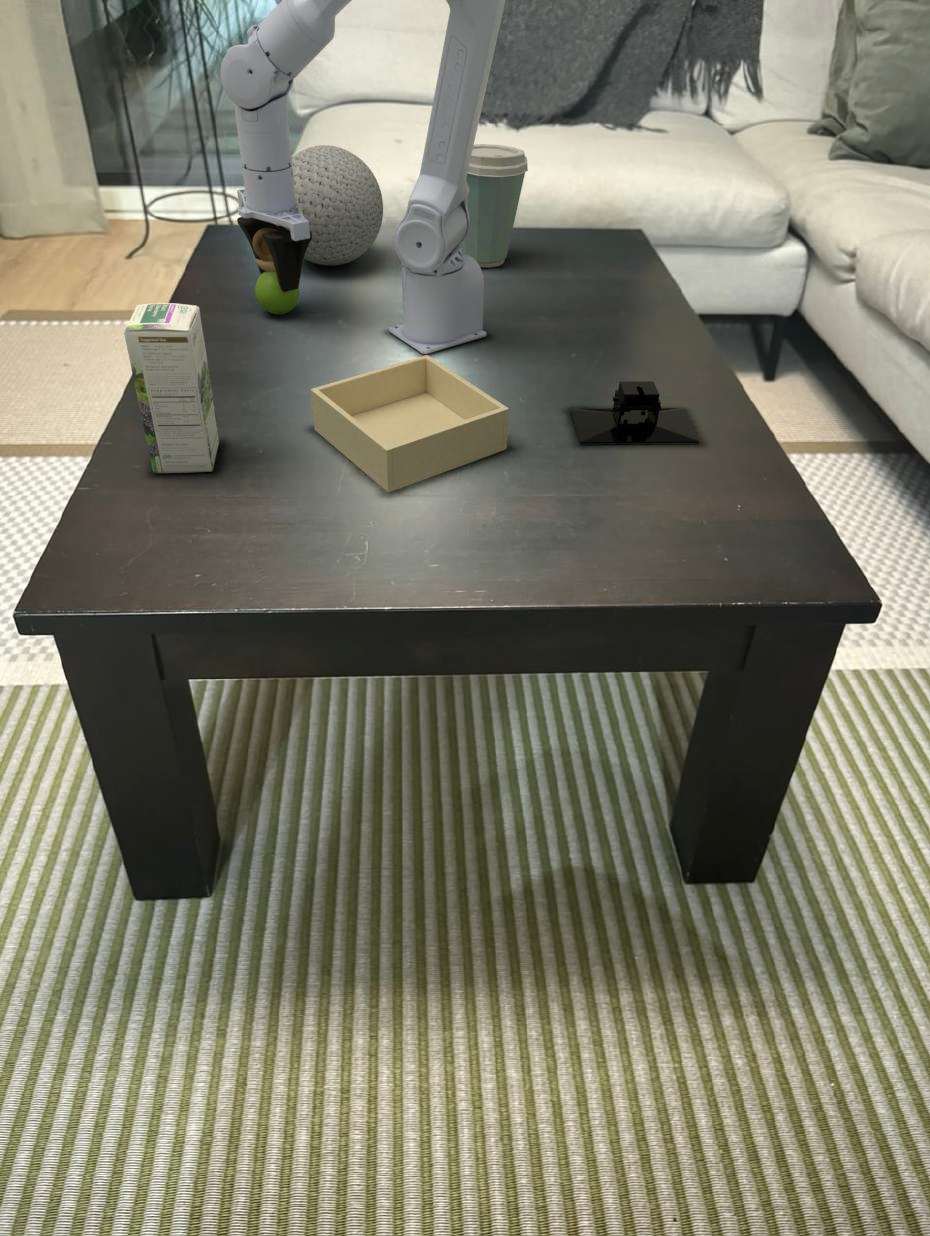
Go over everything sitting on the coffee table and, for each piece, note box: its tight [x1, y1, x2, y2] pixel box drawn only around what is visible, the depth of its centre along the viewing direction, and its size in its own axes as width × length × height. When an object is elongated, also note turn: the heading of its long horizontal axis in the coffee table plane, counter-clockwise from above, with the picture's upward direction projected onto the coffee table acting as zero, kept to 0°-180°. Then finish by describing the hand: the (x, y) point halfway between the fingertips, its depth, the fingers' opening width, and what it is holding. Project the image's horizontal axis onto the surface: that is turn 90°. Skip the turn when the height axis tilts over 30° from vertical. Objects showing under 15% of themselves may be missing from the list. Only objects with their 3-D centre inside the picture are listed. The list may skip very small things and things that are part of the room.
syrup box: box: [123, 302, 220, 474], centre depth 85 cm, size 6×6×14 cm
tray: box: [310, 354, 510, 493], centre depth 92 cm, size 14×14×5 cm
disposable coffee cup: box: [460, 143, 529, 268], centre depth 127 cm, size 11×11×15 cm
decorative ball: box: [291, 144, 384, 267], centre depth 125 cm, size 15×15×15 cm
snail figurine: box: [253, 228, 300, 315], centre depth 112 cm, size 5×6×12 cm
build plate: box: [569, 380, 700, 446], centre depth 95 cm, size 12×7×5 cm, turn 93°
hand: (279, 282), depth 114 cm, fingers closed on snail figurine, 4 cm apart
